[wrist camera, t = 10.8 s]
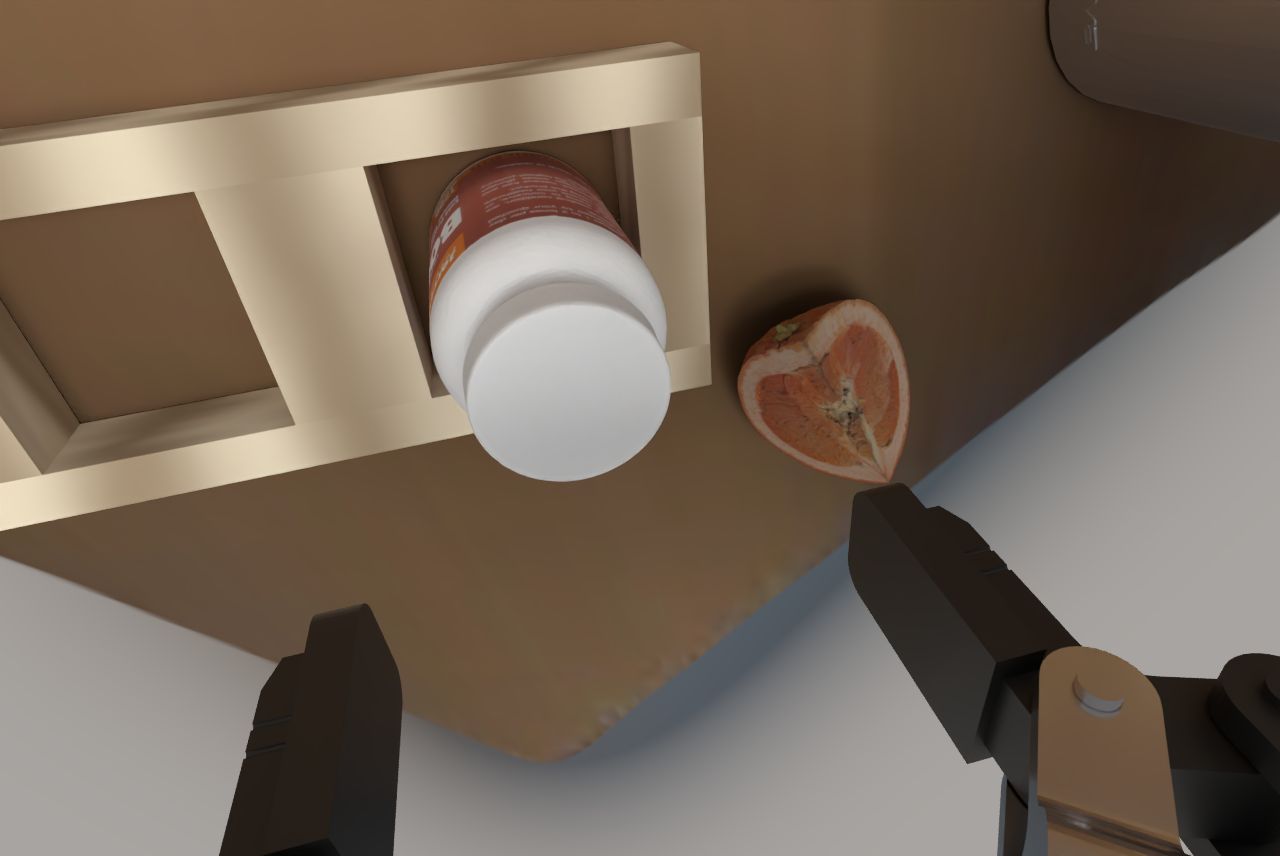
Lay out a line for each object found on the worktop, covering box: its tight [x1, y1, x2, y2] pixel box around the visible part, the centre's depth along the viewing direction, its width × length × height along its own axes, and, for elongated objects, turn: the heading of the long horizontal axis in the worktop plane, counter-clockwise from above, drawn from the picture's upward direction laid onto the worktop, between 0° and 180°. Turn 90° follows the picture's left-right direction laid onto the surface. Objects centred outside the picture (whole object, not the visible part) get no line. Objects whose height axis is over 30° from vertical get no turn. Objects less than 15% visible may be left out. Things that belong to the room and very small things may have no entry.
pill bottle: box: [429, 151, 671, 481], centre depth 21 cm, size 6×6×11 cm
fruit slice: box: [738, 299, 910, 484], centre depth 29 cm, size 8×7×5 cm
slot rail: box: [0, 42, 712, 531], centre depth 23 cm, size 24×11×3 cm, turn 96°
